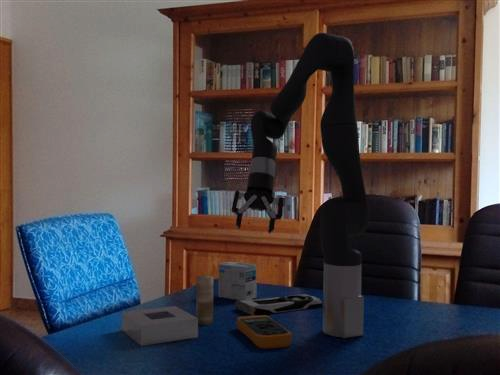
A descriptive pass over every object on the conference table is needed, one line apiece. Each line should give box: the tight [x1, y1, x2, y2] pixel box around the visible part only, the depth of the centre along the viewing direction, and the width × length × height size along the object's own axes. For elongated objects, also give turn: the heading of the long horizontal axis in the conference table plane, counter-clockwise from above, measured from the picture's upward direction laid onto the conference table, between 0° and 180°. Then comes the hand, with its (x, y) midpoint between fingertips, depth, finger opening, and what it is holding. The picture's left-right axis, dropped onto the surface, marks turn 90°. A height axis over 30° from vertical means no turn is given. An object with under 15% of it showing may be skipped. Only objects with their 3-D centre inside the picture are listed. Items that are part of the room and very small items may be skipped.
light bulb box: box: [217, 261, 258, 301], centre depth 173 cm, size 11×7×11 cm, turn 58°
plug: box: [195, 274, 214, 326], centre depth 143 cm, size 4×4×12 cm
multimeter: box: [236, 315, 293, 350], centre depth 131 cm, size 9×18×3 cm, turn 19°
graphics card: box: [234, 293, 323, 316], centre depth 160 cm, size 10×3×25 cm
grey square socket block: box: [121, 305, 199, 347], centre depth 133 cm, size 14×14×4 cm
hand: (254, 230), depth 152 cm, fingers open, 8 cm apart
